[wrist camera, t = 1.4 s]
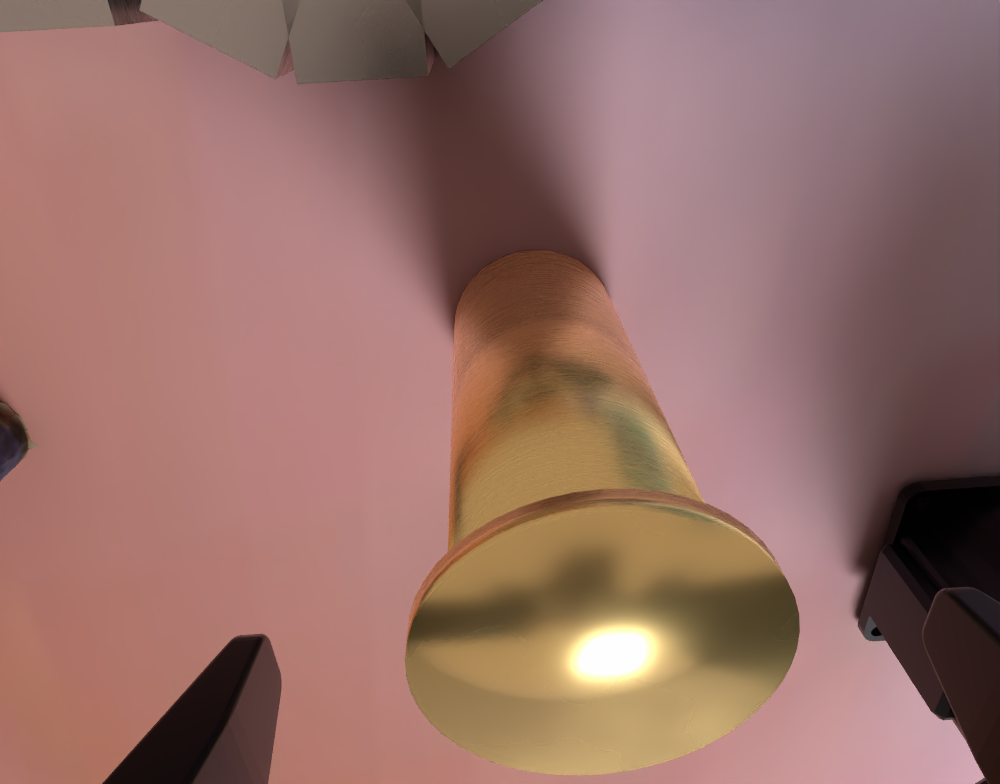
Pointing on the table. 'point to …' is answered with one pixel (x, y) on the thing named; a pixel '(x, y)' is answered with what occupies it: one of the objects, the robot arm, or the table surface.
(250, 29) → the flanged post bracket
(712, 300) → the table surface
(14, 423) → the flask
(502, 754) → the brass pin
